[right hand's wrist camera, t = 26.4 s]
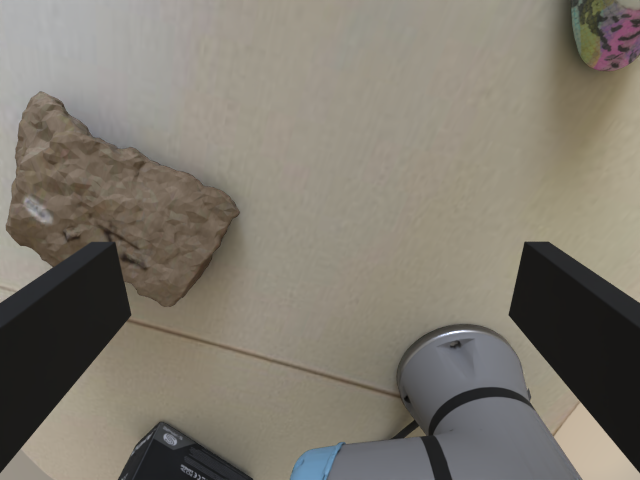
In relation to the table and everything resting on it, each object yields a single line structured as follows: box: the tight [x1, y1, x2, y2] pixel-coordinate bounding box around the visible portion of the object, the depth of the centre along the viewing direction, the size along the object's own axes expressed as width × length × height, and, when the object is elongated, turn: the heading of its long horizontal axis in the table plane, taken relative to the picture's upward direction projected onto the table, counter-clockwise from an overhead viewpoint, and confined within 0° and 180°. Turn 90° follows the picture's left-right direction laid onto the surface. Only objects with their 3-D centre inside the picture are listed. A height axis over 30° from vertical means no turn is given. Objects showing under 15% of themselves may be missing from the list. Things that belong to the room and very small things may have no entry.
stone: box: [6, 92, 240, 307], centre depth 38 cm, size 21×15×6 cm
